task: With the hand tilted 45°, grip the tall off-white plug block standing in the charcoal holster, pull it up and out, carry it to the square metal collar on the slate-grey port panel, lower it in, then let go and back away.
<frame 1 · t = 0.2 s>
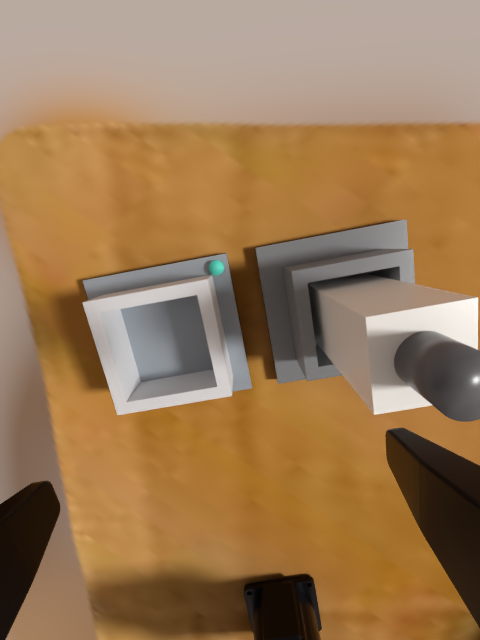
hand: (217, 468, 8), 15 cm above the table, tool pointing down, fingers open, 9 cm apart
plug: (338, 306, 21), point 1 cm above the table, touching holster
port panel: (173, 333, 22), on the table
holster: (334, 304, 22), on the table
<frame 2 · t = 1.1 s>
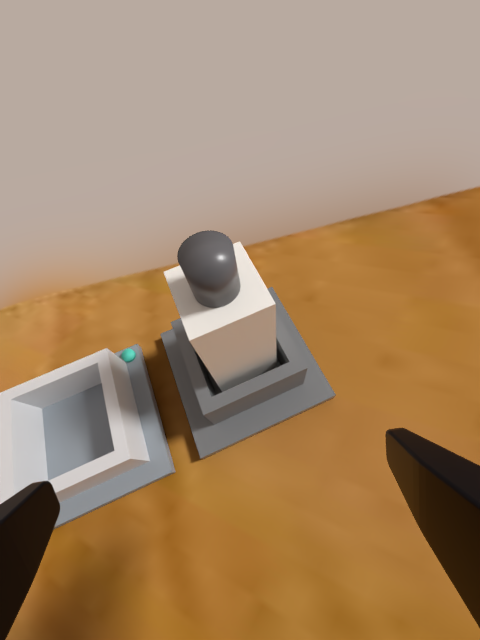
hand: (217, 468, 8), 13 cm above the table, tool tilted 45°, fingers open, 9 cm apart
plug: (240, 362, 22), point 1 cm above the table, touching holster
port panel: (92, 431, 22), on the table
holster: (241, 365, 23), on the table
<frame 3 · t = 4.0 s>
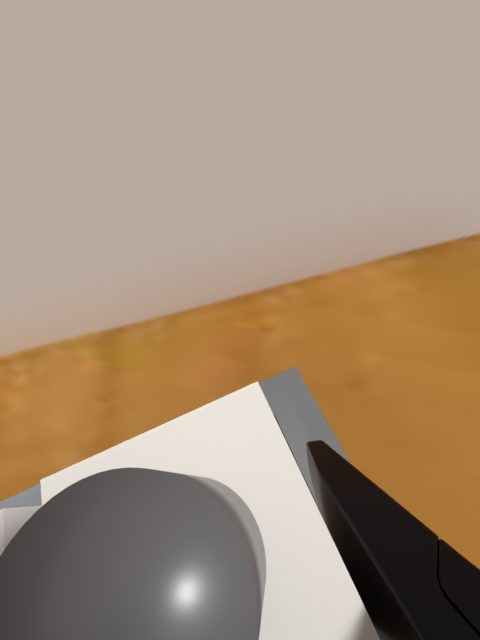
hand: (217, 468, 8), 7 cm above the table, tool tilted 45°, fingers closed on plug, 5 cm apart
plug: (247, 512, 13), point 1 cm above the table, touching gripper, holster
holster: (249, 511, 14), on the table
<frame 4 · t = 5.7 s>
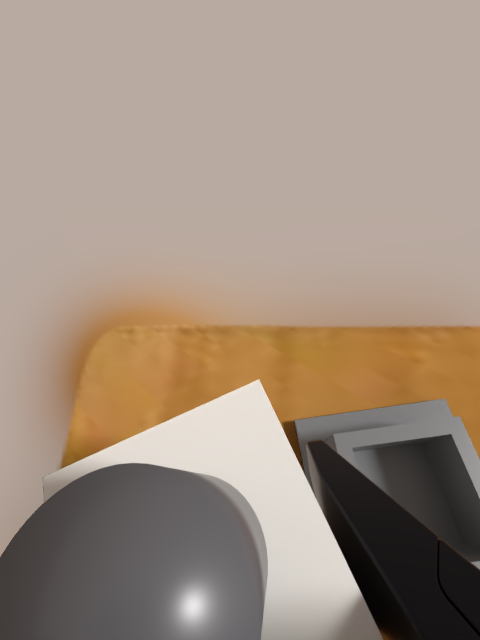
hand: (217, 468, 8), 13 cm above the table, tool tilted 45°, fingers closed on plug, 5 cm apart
plug: (248, 511, 13), point 7 cm above the table, touching gripper
holster: (392, 495, 18), on the table
when the fingers open (9 cm above the table, at t = 7.5 s): plug drops 1 cm, resting on port panel.
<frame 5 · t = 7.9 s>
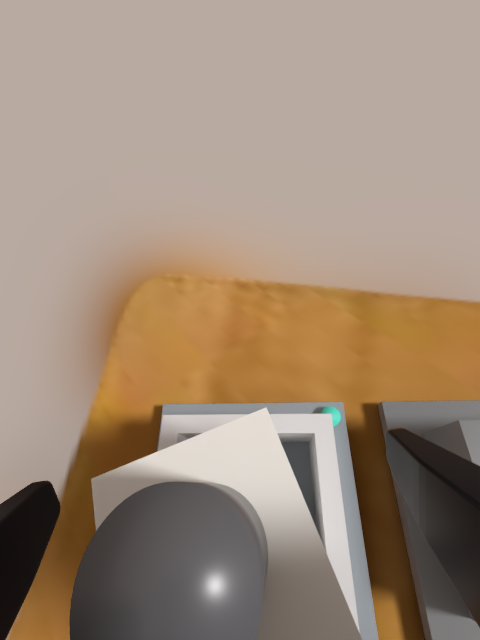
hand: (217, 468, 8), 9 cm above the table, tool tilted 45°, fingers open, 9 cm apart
plug: (251, 511, 14), point 1 cm above the table, touching port panel
port panel: (251, 508, 15), on the table
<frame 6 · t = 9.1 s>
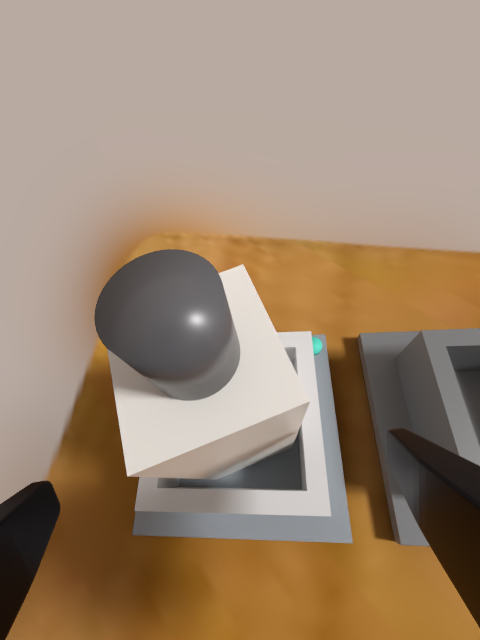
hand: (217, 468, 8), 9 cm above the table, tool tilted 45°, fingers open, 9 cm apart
plug: (240, 424, 16), point 1 cm above the table, touching port panel
port panel: (241, 425, 17), on the table
holster: (474, 424, 15), on the table
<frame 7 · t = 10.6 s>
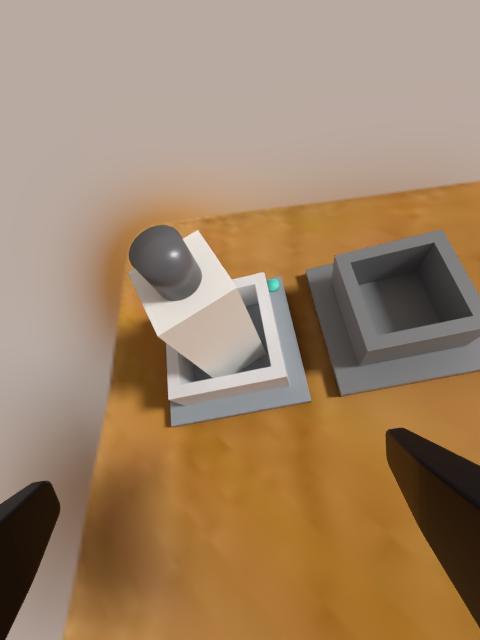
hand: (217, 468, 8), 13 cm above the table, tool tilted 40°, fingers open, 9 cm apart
plug: (230, 346, 23), point 1 cm above the table, touching port panel
port panel: (232, 349, 24), on the table
holster: (389, 315, 22), on the table
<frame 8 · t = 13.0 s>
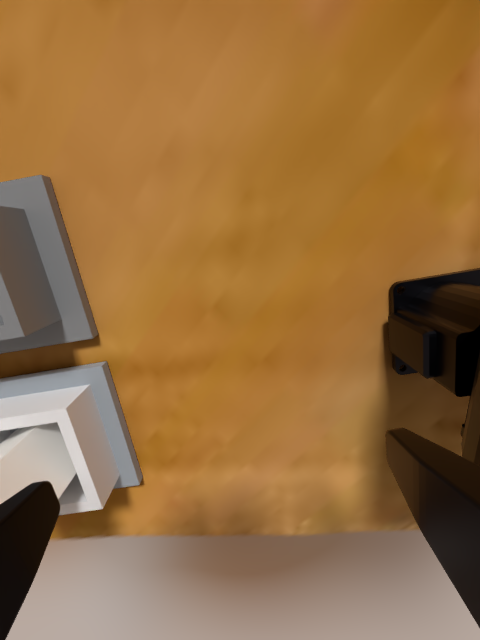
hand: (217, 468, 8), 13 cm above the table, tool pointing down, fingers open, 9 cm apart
plug: (55, 438, 22), point 1 cm above the table, touching port panel
port panel: (61, 432, 23), on the table
holster: (1, 274, 19), on the table
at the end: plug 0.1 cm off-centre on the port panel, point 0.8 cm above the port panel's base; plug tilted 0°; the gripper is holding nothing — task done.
